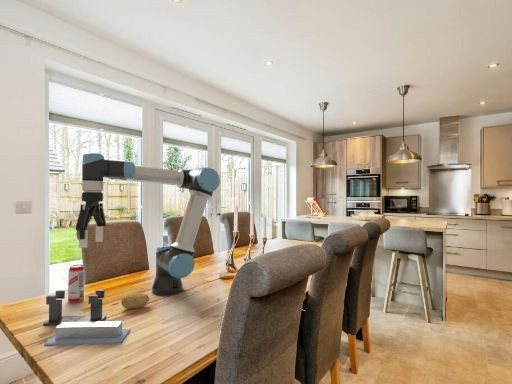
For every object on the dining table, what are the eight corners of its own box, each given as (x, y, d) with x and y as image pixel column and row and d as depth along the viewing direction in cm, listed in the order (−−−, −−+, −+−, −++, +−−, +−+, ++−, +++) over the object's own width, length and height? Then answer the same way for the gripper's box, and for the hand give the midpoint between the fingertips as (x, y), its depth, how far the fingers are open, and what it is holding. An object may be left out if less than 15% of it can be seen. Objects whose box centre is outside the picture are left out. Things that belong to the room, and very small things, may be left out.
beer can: (76, 304, 130) (77, 268, 130) (64, 302, 131) (65, 267, 131) (87, 299, 136) (87, 264, 136) (75, 298, 137) (76, 263, 137)
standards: (106, 317, 116) (107, 289, 117) (99, 325, 110) (99, 295, 110) (53, 318, 115) (54, 290, 115) (42, 326, 108) (43, 296, 108)
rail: (121, 332, 103) (122, 321, 103) (117, 337, 99) (117, 326, 99) (62, 333, 102) (62, 322, 102) (55, 339, 98) (55, 327, 98)
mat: (130, 330, 106) (130, 329, 106) (120, 343, 97) (120, 341, 97) (60, 332, 104) (60, 330, 104) (44, 345, 95) (44, 343, 95)
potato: (122, 306, 128) (122, 291, 128) (149, 303, 132) (149, 289, 132) (120, 312, 122) (120, 297, 122) (148, 309, 125) (148, 294, 125)
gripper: (97, 191, 130) (96, 239, 130) (65, 191, 105) (64, 250, 105) (114, 191, 131) (113, 239, 130) (87, 191, 106) (86, 250, 106)
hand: (91, 244), depth 118 cm, fingers open, 13 cm apart
